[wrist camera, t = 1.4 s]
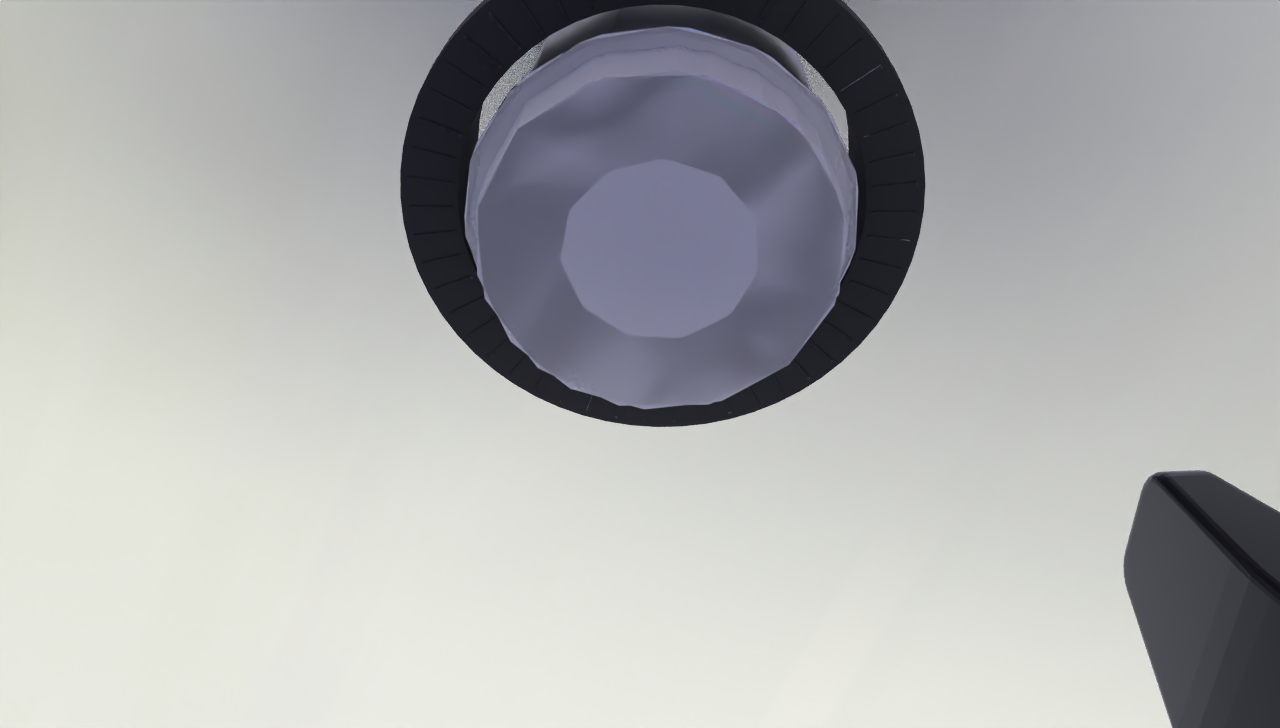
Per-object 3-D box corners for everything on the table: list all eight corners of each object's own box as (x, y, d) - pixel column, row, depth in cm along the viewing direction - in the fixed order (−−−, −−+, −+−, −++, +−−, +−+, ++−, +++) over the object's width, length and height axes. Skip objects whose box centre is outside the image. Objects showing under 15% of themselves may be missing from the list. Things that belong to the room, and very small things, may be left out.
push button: (621, 247, 23) (587, 623, 14) (391, 51, 21) (193, 346, 12) (897, -18, 20) (1060, 246, 12) (662, -268, 18) (650, -177, 10)
